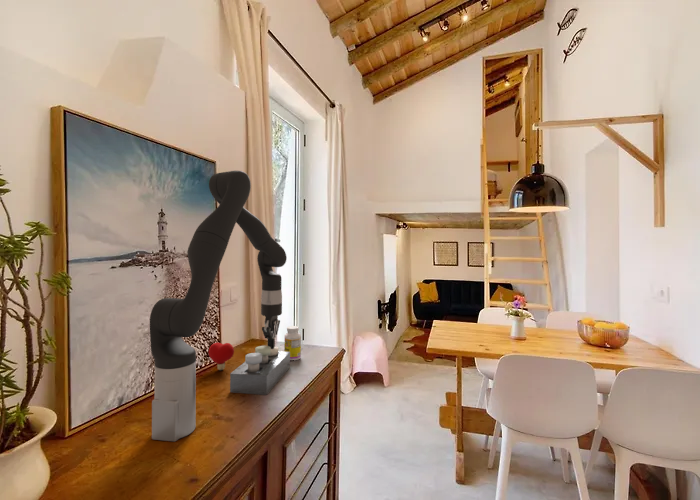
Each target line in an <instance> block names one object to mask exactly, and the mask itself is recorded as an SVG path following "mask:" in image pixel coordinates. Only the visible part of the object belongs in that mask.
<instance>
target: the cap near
mask: <svg viewBox="0 0 700 500" xmlns="http://www.w3.org/2000/svg"><path fill="white" fill-rule="evenodd" d="M244 362H245V363H247V364H248V372H250V373H255V372H258V371H259V363H261V362H262V354H261V353H255V352H251V353H247V354H245V361H244Z"/></svg>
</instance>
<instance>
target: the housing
mask: <svg viewBox="0 0 700 500" xmlns="http://www.w3.org/2000/svg"><path fill="white" fill-rule="evenodd" d="M268 362H269V363H266V364H259V371H258V372H255V373H250V372H248V364H247V363H245V361H244V362H243V363H242V364H240V365H239V366H238V367H236V369H234V370H233V371H231V372H230V377H229V387H230V388H229V393H236V394H247V395H248V394H249V395H260V396H261V395H262V396H267V395H268V394H269V393H270V392H271V390H272V389H273V388H274V387H275V386H276V384H278V382H280V380H281V379H282V378H283V376H284V375H285V374H286V373H287V371H288V370H290V368H291V361H290V352H285V351H282V350H278V354H277V355H276V356H275V357H272V356H268ZM289 367H290V368H289ZM285 372H286V373H285Z"/></svg>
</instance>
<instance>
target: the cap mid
mask: <svg viewBox="0 0 700 500" xmlns="http://www.w3.org/2000/svg"><path fill="white" fill-rule="evenodd" d="M254 349H255V351H254V353H261V354H262V362H261V363H259V364H266V363H268V355H270V354H271V347H270V346H268V345H259V346H256V347H255V348H254Z"/></svg>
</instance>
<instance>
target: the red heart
mask: <svg viewBox="0 0 700 500" xmlns="http://www.w3.org/2000/svg"><path fill="white" fill-rule="evenodd" d="M208 348H209V349H208V356H209V358H210V359H211V360H212V361H213V362H214V363H216V364H217V367H216V368H217V370H219V371H223V370H224V369H225V368H226V362H227V361H229V360H231V358H233V357H234V353H235V349H234V346H233V345H232V344H231V343H229V342H225V343H221V342H214V343H212V344H211V345H210V346H209V347H208Z"/></svg>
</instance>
